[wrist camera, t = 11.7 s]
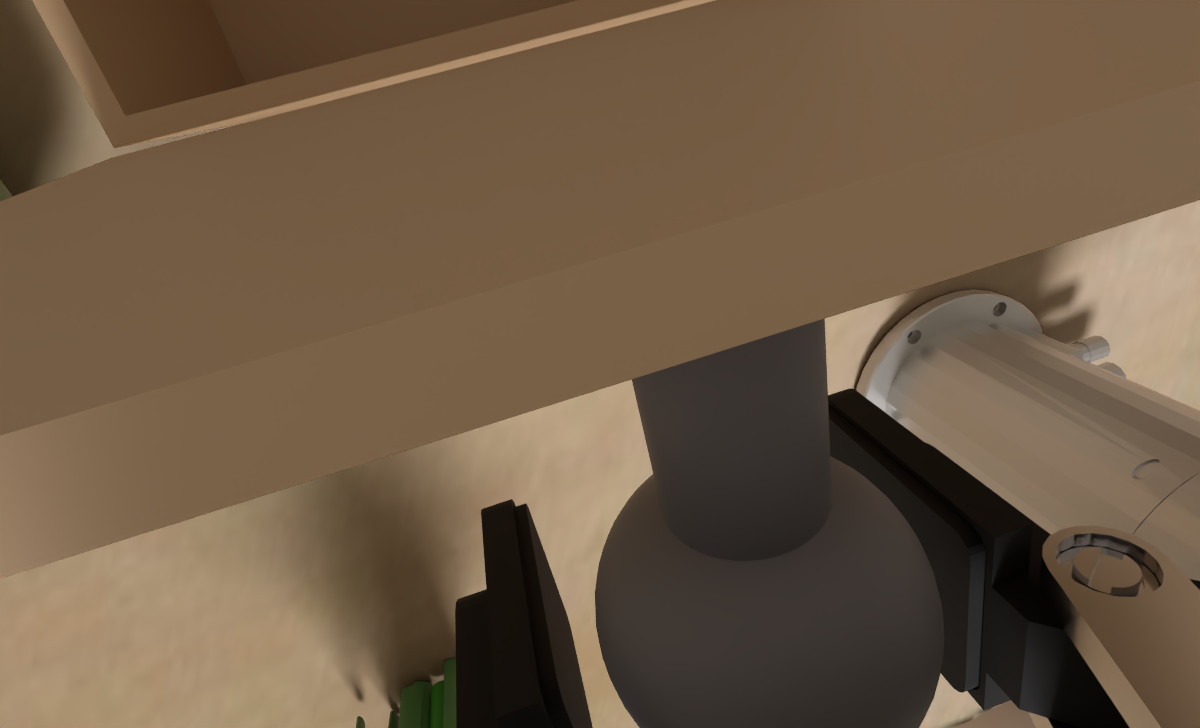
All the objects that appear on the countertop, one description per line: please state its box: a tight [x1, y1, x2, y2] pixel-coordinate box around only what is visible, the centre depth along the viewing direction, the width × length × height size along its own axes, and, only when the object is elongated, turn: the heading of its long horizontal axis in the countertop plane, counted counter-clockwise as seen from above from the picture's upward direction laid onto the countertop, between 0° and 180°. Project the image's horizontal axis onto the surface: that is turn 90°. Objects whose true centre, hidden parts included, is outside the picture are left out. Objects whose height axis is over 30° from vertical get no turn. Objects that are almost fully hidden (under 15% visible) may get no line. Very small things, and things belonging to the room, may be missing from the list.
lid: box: [0, 0, 1200, 728], centre depth 12 cm, size 20×16×8 cm
